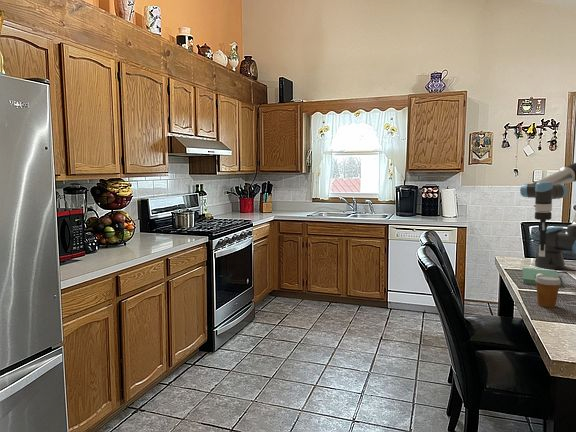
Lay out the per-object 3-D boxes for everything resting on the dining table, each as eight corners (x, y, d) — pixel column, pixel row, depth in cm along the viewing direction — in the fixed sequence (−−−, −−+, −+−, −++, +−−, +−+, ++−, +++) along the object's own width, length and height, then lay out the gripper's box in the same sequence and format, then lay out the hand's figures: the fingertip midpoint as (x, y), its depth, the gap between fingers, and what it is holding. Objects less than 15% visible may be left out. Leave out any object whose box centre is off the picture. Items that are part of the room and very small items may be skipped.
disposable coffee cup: (563, 309, 179) (565, 280, 178) (538, 308, 181) (539, 280, 180) (554, 302, 188) (555, 275, 187) (530, 301, 190) (531, 274, 189)
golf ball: (538, 281, 224) (539, 273, 224) (546, 281, 220) (546, 274, 221) (533, 280, 222) (534, 272, 223) (541, 281, 219) (541, 273, 219)
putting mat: (522, 272, 241) (522, 268, 241) (556, 275, 234) (556, 270, 234) (523, 283, 218) (523, 278, 218) (560, 287, 211) (561, 282, 211)
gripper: (534, 210, 233) (533, 253, 236) (535, 213, 222) (534, 258, 225) (550, 210, 230) (549, 254, 233) (552, 213, 218) (551, 259, 221)
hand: (541, 256), depth 229 cm, fingers closed
